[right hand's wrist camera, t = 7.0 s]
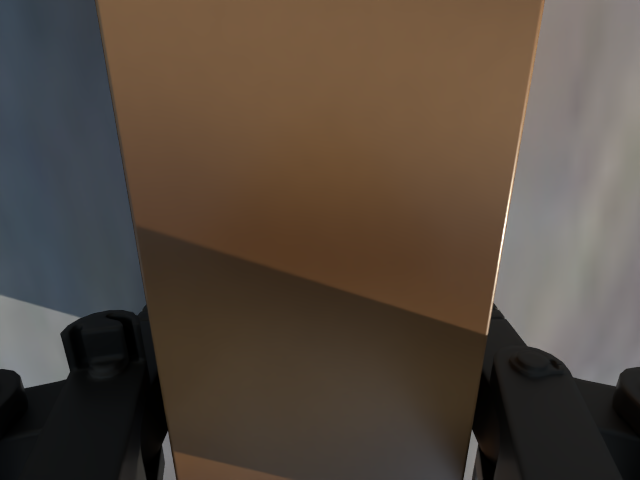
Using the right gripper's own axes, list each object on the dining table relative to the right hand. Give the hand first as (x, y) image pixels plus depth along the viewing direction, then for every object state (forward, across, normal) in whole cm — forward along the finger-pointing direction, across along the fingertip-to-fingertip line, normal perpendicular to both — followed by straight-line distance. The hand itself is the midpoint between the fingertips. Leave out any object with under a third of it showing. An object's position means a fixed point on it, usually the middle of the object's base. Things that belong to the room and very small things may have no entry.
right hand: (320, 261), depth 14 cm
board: (+1, 0, -20) cm, 21 cm away
